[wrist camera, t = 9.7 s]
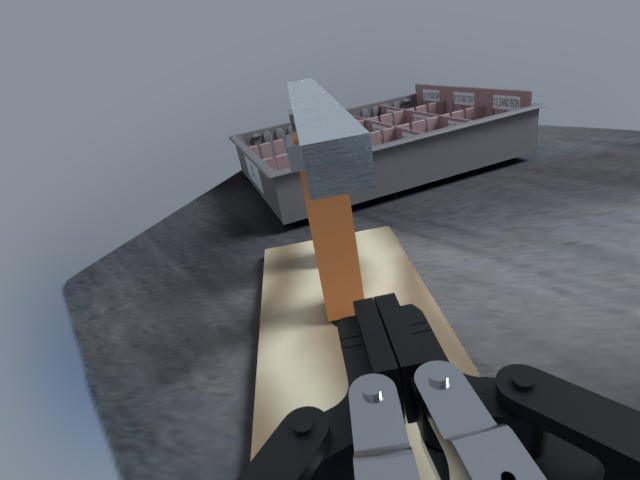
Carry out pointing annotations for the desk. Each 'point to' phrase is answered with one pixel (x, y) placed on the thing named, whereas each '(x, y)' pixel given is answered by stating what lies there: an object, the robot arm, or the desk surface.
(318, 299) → the board
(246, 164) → the organizer tray
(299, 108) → the bar
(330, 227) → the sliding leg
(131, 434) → the desk surface
